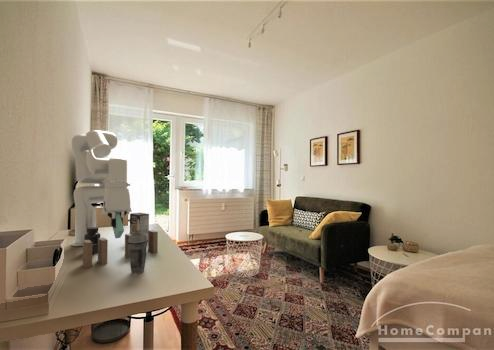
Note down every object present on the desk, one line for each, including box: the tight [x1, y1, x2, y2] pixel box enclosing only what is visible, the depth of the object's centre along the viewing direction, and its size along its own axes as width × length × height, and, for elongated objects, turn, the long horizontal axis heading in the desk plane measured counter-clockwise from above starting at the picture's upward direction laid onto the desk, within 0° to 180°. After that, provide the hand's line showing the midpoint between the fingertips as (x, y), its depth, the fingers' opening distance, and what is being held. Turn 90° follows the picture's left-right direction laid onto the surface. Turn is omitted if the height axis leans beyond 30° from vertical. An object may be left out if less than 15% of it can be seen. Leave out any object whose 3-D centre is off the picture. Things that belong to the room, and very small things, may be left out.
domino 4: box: [147, 229, 159, 254], centre depth 117 cm, size 6×2×10 cm, turn 46°
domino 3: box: [124, 232, 131, 260], centre depth 110 cm, size 6×2×10 cm, turn 46°
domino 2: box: [97, 237, 109, 266], centre depth 102 cm, size 6×2×10 cm, turn 46°
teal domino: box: [112, 211, 125, 239], centre depth 105 cm, size 6×2×10 cm
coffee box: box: [129, 212, 150, 237], centre depth 135 cm, size 9×6×16 cm
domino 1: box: [82, 240, 93, 269], centre depth 98 cm, size 6×2×10 cm, turn 46°
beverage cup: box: [128, 219, 148, 275], centre depth 92 cm, size 7×7×20 cm
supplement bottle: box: [84, 226, 101, 255], centre depth 115 cm, size 7×7×12 cm
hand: (117, 226), depth 106 cm, fingers closed on teal domino, 1 cm apart
